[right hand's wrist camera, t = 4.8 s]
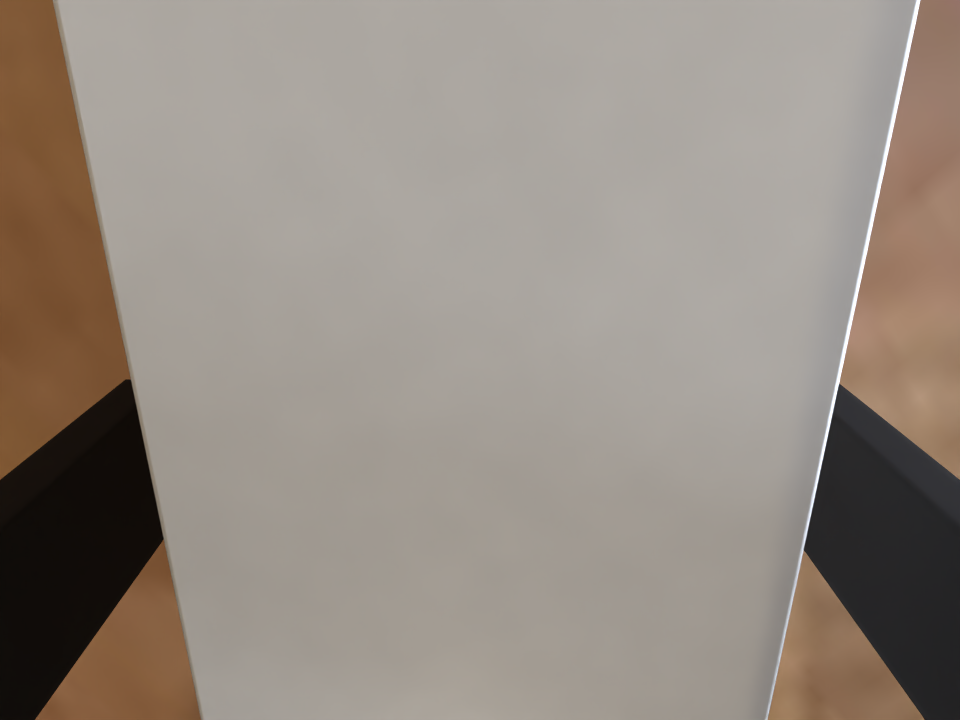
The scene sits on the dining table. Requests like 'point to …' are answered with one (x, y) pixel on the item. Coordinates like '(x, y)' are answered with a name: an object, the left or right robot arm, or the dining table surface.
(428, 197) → the post
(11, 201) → the dining table surface
